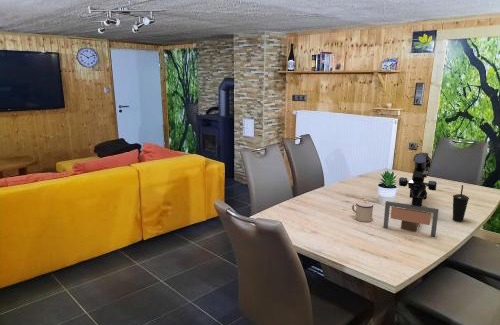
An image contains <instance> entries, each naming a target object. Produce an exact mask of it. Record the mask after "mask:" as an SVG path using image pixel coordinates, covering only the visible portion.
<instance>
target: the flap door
mask: <svg viewBox="0 0 500 325" xmlns="http://www.w3.org/2000/svg"><path fill="white" fill-rule="evenodd" d="M390 209H391V210H390V219H392V220H398V221H402V220H403V221H409V222H414V223H420V224H421V225H426V226H430V225H431V216H432V213H430V212H424V211H415V210H409V209H405V208H399V207H392V206H390ZM420 224H419V225H420Z"/></svg>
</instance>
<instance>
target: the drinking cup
mask: <svg viewBox="0 0 500 325" xmlns="http://www.w3.org/2000/svg"><path fill="white" fill-rule="evenodd" d="M460 189H461V190H460V193H456V194H453V195H452V221H453V222H456V223H463V222H464V219H465V214H466V210H467V206H468V202H469V200H470V197H469V196H467V195H466V194H463V191H464V190H463V189H464V185H463V184H462V185H461V188H460Z"/></svg>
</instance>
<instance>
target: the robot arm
mask: <svg viewBox="0 0 500 325" xmlns="http://www.w3.org/2000/svg"><path fill="white" fill-rule="evenodd" d="M412 160H413V163H414V169H413V172H412V177H411V180H410V179H409V180H408V178H407V177H403V176H402V177H399V178H398V185H399V186H400V187H403V188H405V187H407V186H408V187H407V189H410V190H409V199H411V205H415V206H422V207H424V206H423V200H425V201H426V200H427V198H428V192H427V189H428V190H429V191H436V190H437V184H438V183H437V181H434V180H428V182H425V178H427V176H428V172H429V169H430V168H431V164H432V158H431V157H430V156H429V153H428V152H418V153H415V155H414V156H413V159H412ZM426 188H427V189H426Z"/></svg>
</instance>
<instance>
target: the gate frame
mask: <svg viewBox="0 0 500 325" xmlns="http://www.w3.org/2000/svg"><path fill="white" fill-rule="evenodd" d="M384 205H385V206H384V216H383V229H388V228H389V222H390V221H389V219H390V212H391V210H390V209H391V207H396V208H403V209H411V210H417V211H421V212H428V213H431V214H433V215H432V223H431V230H430V238H436V236H437V235H436V234H437V233H436V232H437V226H438V225H437V224H438V218H439V208H434V207H428V206H423V205H422V206H423V207H422V206H415V205H412V204H408V203H401V202H394V201H386V200H385V204H384Z"/></svg>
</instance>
